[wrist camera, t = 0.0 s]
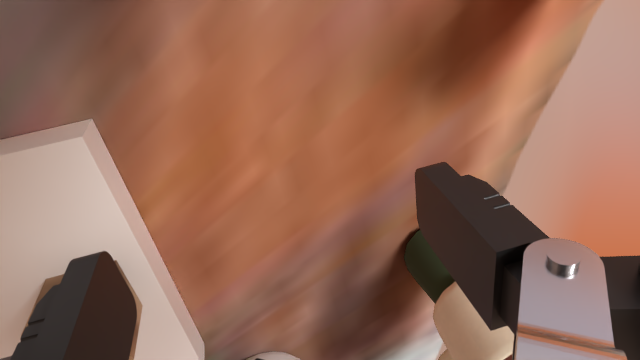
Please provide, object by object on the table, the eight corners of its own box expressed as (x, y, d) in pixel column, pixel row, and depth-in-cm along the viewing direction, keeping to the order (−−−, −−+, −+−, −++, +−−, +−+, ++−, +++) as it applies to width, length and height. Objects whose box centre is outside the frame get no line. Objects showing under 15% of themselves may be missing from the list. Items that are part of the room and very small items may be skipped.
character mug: (425, 295, 41) (504, 431, 30) (368, 276, 38) (433, 420, 27) (501, 210, 37) (621, 329, 26) (445, 181, 34) (556, 303, 23)
